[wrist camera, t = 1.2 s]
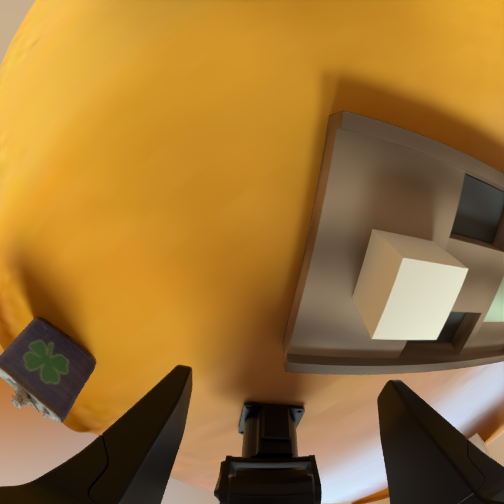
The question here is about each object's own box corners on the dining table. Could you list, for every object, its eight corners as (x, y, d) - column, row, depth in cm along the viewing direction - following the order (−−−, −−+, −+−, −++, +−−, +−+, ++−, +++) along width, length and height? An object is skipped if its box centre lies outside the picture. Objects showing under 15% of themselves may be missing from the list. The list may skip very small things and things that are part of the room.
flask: (34, 324, 25) (-16, 381, 15) (36, 309, 24) (-19, 368, 14) (94, 370, 26) (55, 439, 17) (100, 357, 25) (57, 432, 16)
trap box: (494, 343, 23) (507, 360, 20) (282, 342, 23) (284, 371, 20) (547, 207, 17) (567, 216, 13) (329, 115, 16) (343, 110, 13)
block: (409, 303, 18) (436, 339, 14) (351, 297, 18) (371, 338, 14) (432, 241, 17) (468, 268, 12) (372, 228, 16) (402, 257, 12)
